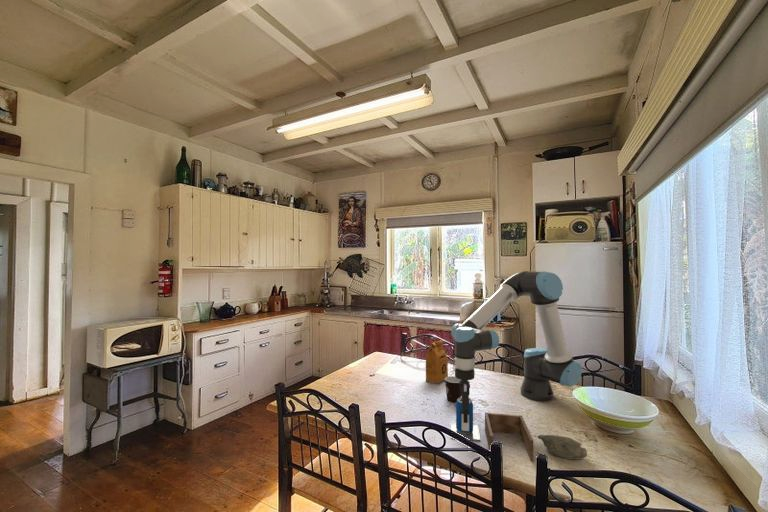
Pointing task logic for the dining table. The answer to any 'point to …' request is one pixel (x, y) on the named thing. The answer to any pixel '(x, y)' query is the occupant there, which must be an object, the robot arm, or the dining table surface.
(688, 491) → the dining table surface
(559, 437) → the fossil
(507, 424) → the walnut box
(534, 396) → the robot arm
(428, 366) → the coffee package
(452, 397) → the coffee mug
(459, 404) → the beverage can
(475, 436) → the white flat square slab
